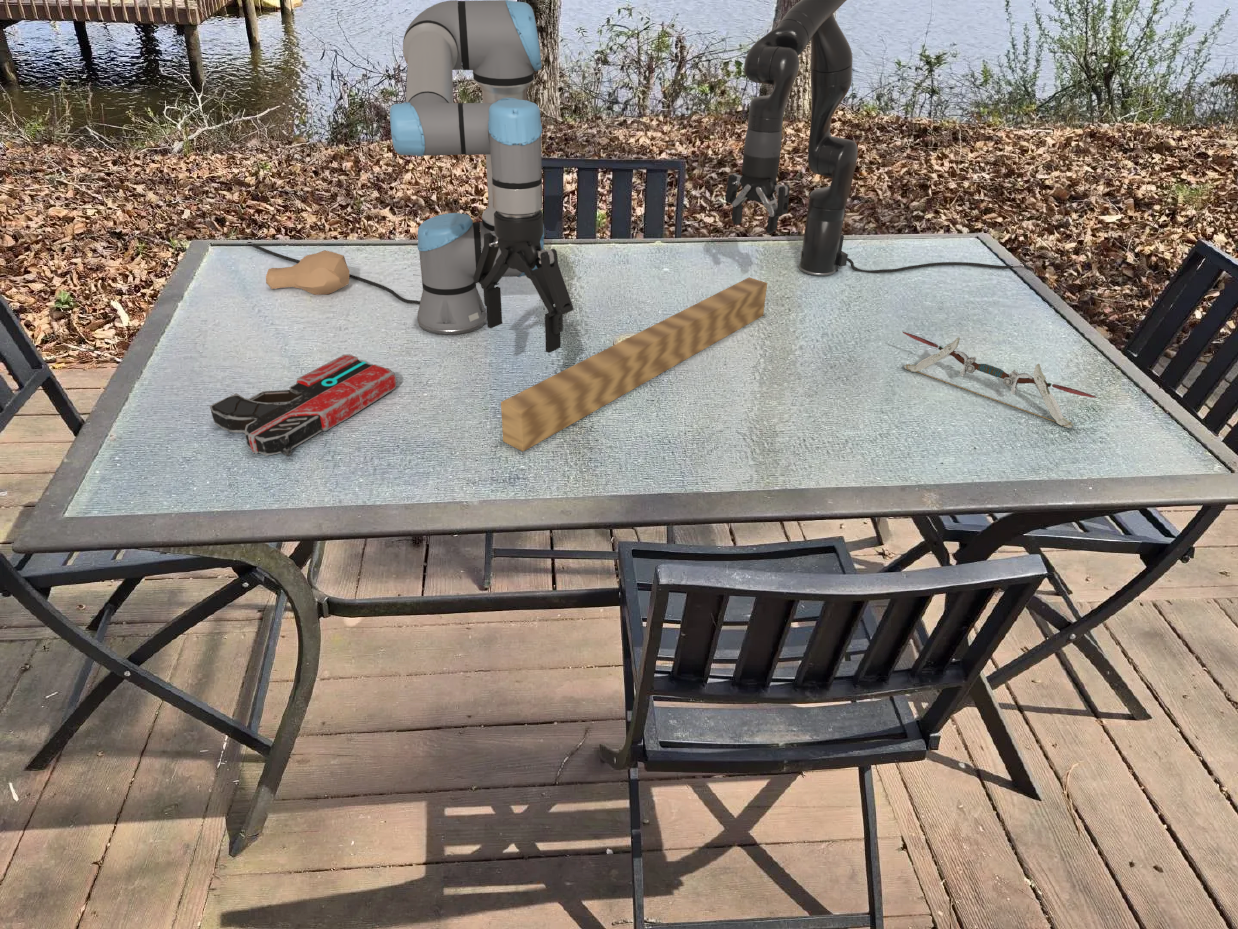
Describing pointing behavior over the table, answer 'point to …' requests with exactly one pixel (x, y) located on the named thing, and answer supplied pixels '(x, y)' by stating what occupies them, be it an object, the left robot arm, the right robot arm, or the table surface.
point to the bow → (1009, 379)
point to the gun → (304, 405)
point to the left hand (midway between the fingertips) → (523, 337)
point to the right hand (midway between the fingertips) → (753, 228)
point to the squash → (312, 274)
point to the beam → (627, 364)
